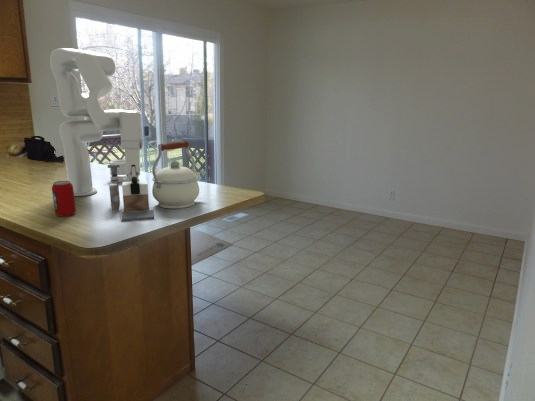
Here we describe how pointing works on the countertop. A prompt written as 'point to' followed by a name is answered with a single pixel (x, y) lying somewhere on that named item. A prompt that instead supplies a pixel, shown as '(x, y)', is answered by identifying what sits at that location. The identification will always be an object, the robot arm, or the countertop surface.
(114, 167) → the latch
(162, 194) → the kettle
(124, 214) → the mat
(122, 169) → the mug
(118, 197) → the housing
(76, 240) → the countertop surface
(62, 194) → the beverage can
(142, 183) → the cover
